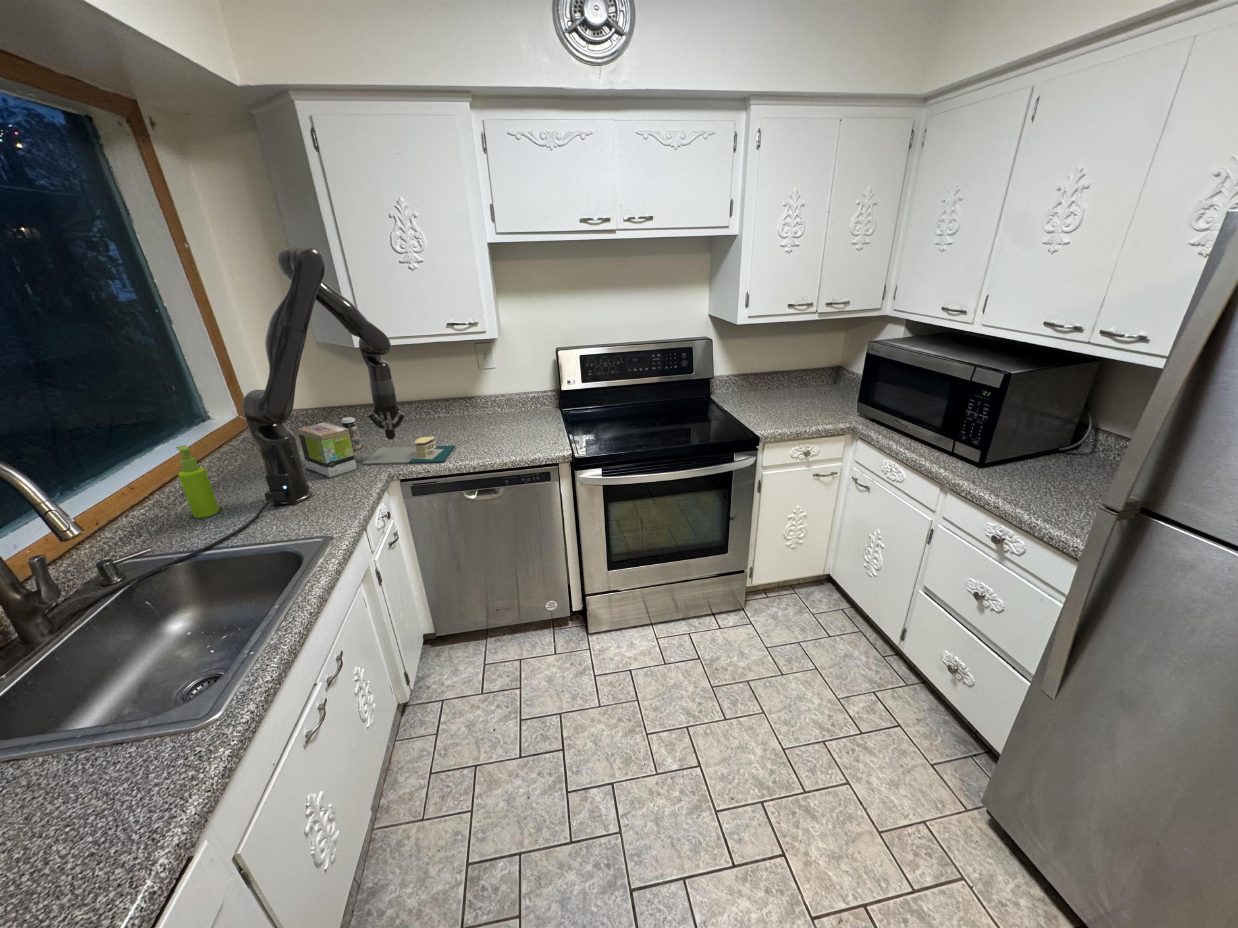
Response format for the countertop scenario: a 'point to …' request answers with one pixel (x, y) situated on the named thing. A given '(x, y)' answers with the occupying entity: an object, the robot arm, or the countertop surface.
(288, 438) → the robot arm
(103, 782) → the countertop surface
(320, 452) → the tea box
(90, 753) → the countertop surface
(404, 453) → the board
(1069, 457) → the countertop surface
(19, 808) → the countertop surface
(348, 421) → the beer can
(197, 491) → the soap dispenser
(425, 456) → the stacked layers on plate
